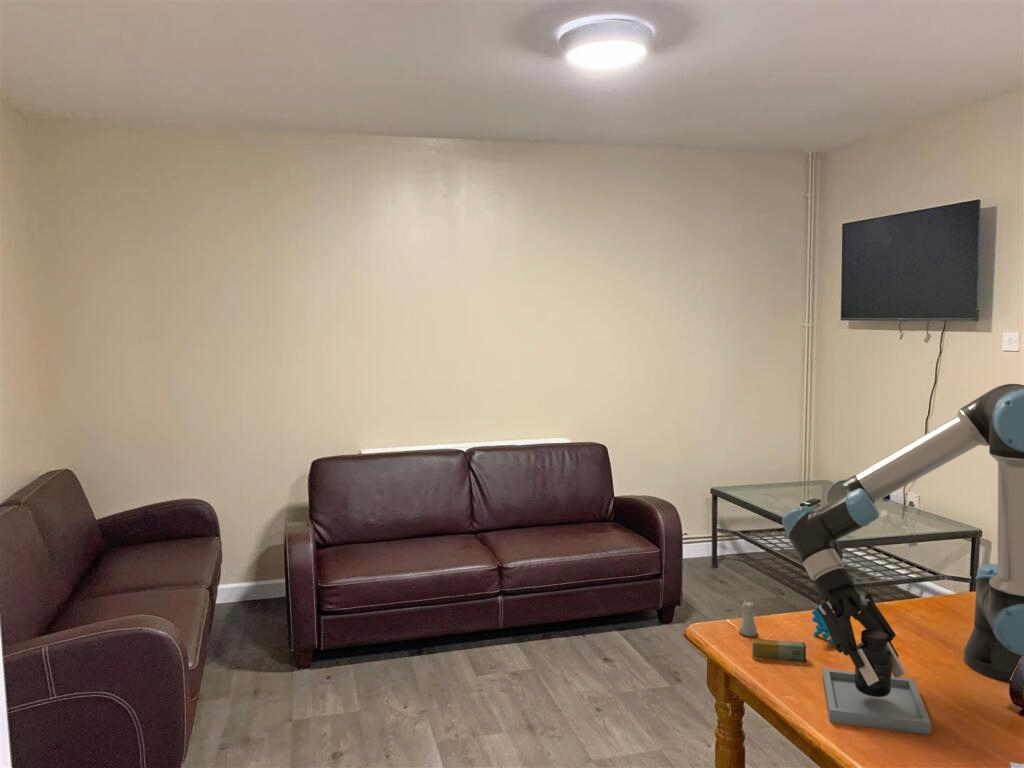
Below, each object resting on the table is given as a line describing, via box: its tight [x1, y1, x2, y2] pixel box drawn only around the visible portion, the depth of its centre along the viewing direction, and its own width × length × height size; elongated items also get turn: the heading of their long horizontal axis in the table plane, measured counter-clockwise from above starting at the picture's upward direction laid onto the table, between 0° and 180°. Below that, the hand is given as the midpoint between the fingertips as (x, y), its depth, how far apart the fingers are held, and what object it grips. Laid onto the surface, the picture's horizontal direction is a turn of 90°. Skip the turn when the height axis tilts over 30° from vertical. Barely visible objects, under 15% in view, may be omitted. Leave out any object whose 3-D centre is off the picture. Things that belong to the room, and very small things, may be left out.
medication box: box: [751, 638, 807, 663], centre depth 183 cm, size 12×3×4 cm, turn 78°
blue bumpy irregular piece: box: [811, 605, 842, 646], centre depth 193 cm, size 11×6×10 cm
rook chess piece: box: [738, 600, 758, 637], centre depth 196 cm, size 4×4×8 cm
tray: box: [822, 668, 932, 736], centre depth 161 cm, size 18×18×2 cm
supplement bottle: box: [854, 629, 893, 697], centre depth 161 cm, size 7×7×12 cm
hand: (887, 679), depth 157 cm, fingers closed on supplement bottle, 7 cm apart
